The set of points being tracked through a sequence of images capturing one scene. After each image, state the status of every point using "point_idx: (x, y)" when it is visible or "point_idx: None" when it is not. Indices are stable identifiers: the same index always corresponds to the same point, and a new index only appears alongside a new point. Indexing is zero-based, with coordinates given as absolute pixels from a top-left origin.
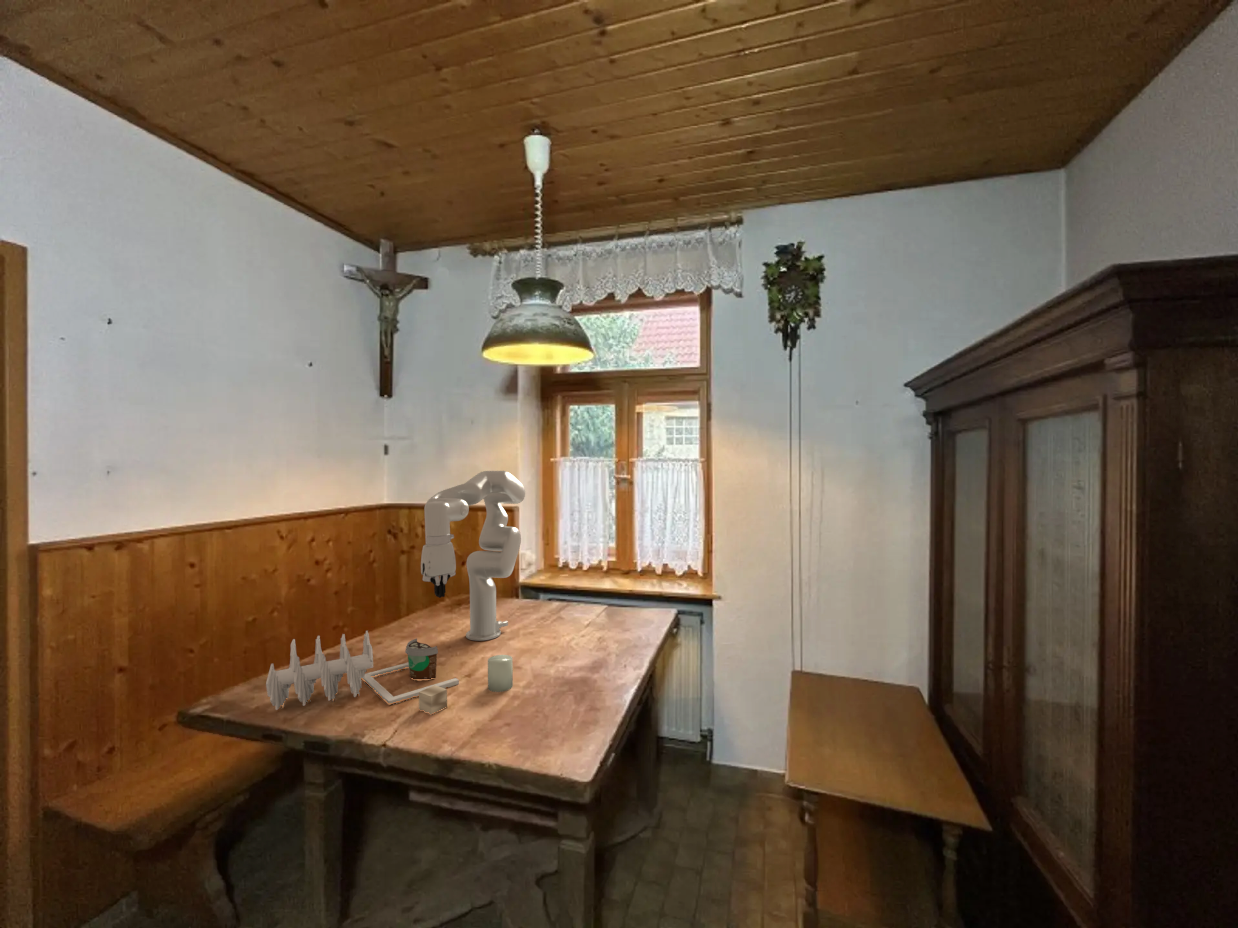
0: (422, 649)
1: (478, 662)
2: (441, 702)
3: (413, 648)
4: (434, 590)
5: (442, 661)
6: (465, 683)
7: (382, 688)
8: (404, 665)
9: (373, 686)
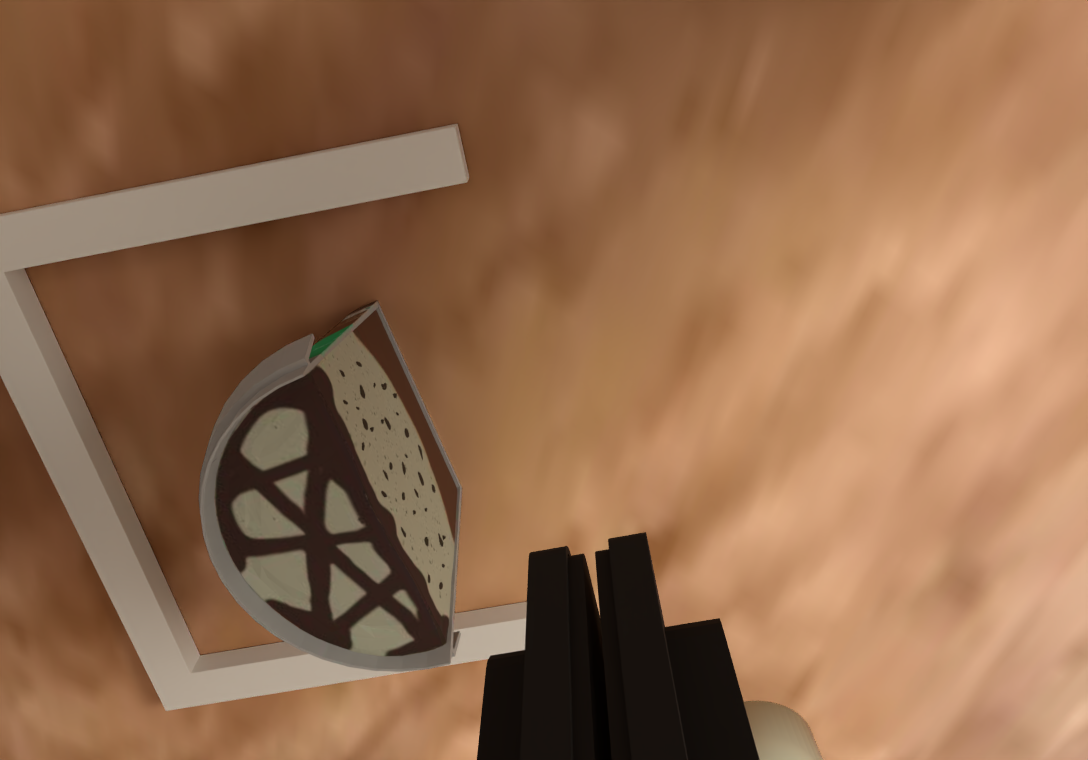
0: (329, 656)
1: (801, 378)
2: None
3: (254, 617)
4: (482, 716)
5: (578, 206)
6: None
7: (120, 543)
8: (267, 213)
9: (59, 489)
